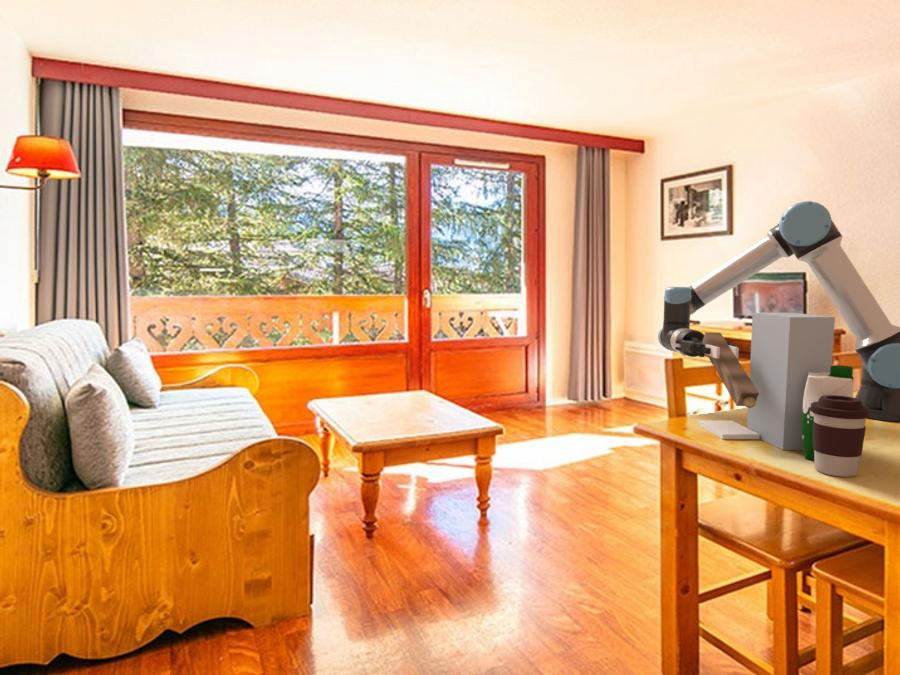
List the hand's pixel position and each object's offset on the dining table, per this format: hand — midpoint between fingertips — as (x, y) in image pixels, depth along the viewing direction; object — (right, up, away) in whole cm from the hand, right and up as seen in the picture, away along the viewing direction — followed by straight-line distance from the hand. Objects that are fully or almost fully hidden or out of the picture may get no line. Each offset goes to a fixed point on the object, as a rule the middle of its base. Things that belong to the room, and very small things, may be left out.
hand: (727, 352), depth 151 cm
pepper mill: (0, -6, 0) cm, 6 cm away
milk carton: (+12, -22, -20) cm, 32 cm away
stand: (+11, -21, -6) cm, 24 cm away
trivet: (+1, -20, +2) cm, 20 cm away
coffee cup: (+8, -23, -29) cm, 38 cm away
